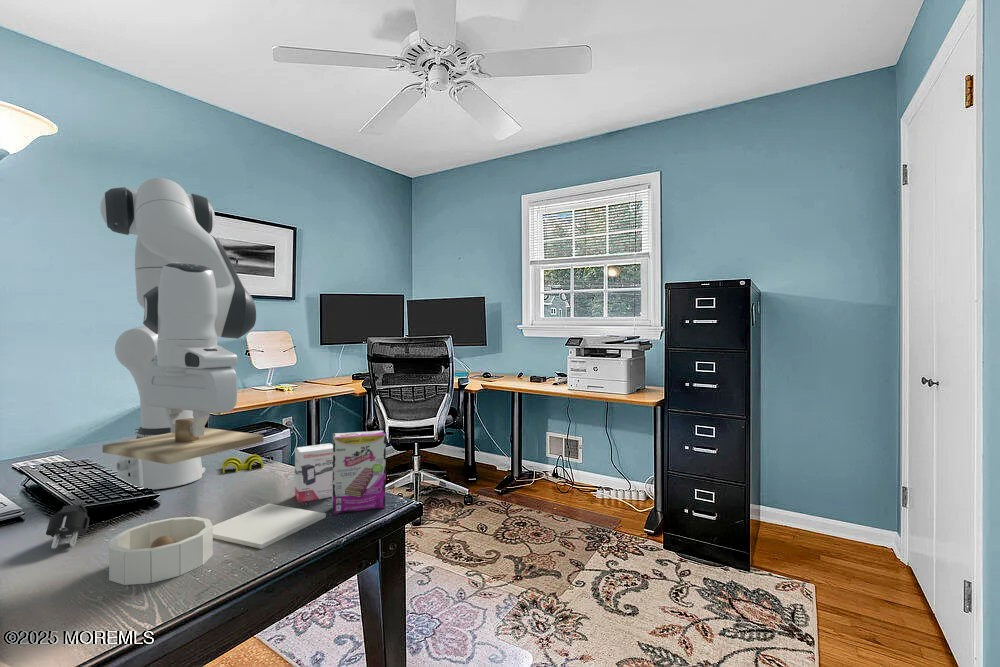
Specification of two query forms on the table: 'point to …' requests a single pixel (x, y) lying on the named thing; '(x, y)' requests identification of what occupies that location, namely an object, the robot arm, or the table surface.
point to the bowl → (160, 550)
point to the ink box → (313, 472)
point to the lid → (181, 444)
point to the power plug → (68, 524)
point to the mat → (265, 525)
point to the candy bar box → (358, 471)
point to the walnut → (162, 541)
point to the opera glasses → (238, 464)
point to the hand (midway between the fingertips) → (187, 434)
